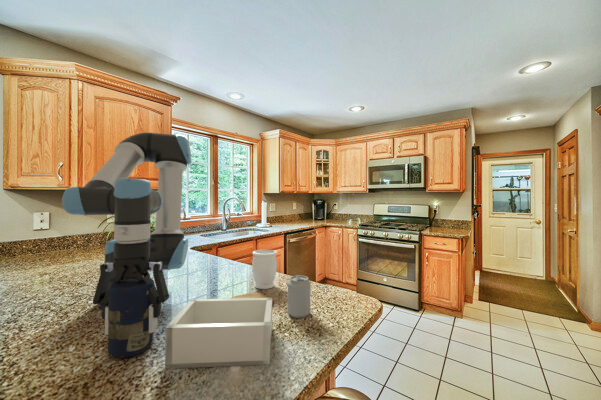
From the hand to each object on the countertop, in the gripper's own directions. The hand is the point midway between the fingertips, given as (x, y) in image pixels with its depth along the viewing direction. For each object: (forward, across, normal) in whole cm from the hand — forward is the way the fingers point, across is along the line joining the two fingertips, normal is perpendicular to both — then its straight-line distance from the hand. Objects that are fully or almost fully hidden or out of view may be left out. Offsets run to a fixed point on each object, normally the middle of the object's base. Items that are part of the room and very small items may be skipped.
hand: (131, 330), depth 63 cm
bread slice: (+5, +24, +23) cm, 34 cm away
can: (+5, +43, +17) cm, 47 cm away
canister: (+5, 0, 0) cm, 5 cm away
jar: (+5, +30, +44) cm, 54 cm away
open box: (+5, +23, 0) cm, 23 cm away
